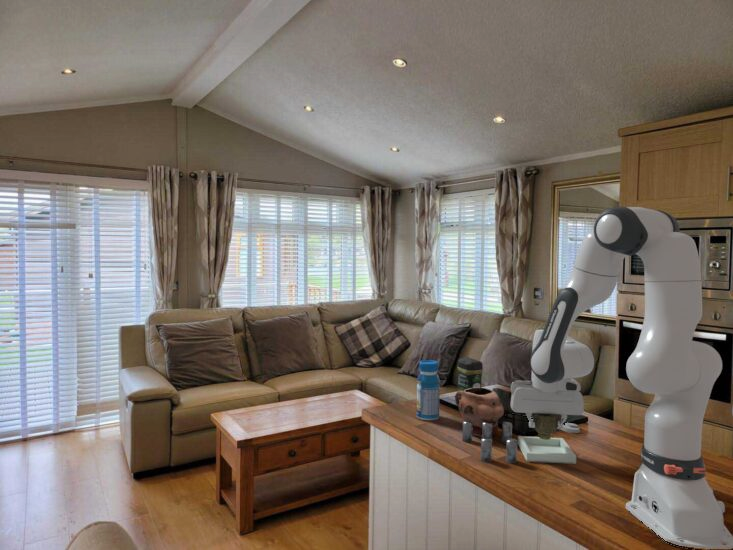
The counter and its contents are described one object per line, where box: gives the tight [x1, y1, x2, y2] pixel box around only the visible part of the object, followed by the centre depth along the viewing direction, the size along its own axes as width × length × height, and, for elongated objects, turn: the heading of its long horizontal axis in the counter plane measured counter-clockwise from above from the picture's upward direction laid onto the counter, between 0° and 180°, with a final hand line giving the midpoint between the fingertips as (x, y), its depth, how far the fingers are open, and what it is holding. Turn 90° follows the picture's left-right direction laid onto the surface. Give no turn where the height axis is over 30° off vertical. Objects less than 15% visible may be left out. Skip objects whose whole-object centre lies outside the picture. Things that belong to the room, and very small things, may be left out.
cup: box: [532, 413, 560, 440], centre depth 147 cm, size 8×7×8 cm
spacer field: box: [462, 420, 518, 464], centre depth 149 cm, size 17×15×6 cm
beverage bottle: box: [415, 359, 441, 421], centre depth 179 cm, size 8×8×20 cm
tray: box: [517, 435, 577, 465], centre depth 148 cm, size 13×13×2 cm
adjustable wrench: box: [530, 416, 581, 434], centre depth 174 cm, size 25×6×2 cm, turn 50°
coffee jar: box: [457, 356, 484, 402], centre depth 192 cm, size 10×8×19 cm
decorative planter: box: [454, 387, 505, 437], centre depth 165 cm, size 20×12×14 cm, turn 41°
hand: (545, 427), depth 147 cm, fingers closed on cup, 6 cm apart
